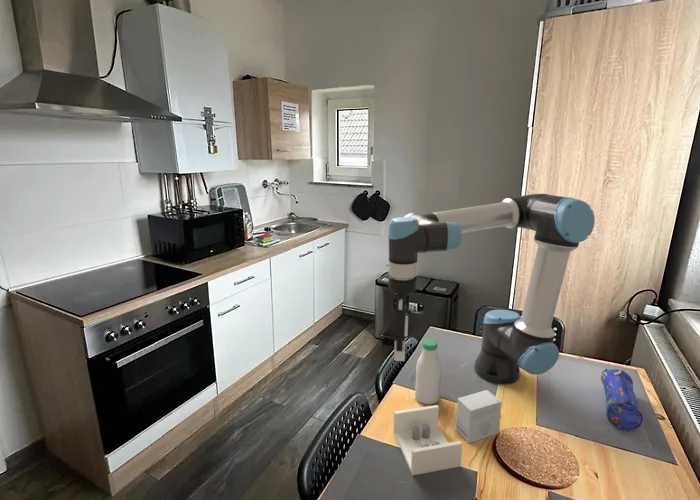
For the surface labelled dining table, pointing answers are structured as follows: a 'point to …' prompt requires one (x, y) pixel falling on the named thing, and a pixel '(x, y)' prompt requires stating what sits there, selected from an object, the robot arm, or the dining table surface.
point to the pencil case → (621, 400)
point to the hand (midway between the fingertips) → (401, 347)
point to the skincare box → (478, 416)
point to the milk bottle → (428, 374)
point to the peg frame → (425, 441)
